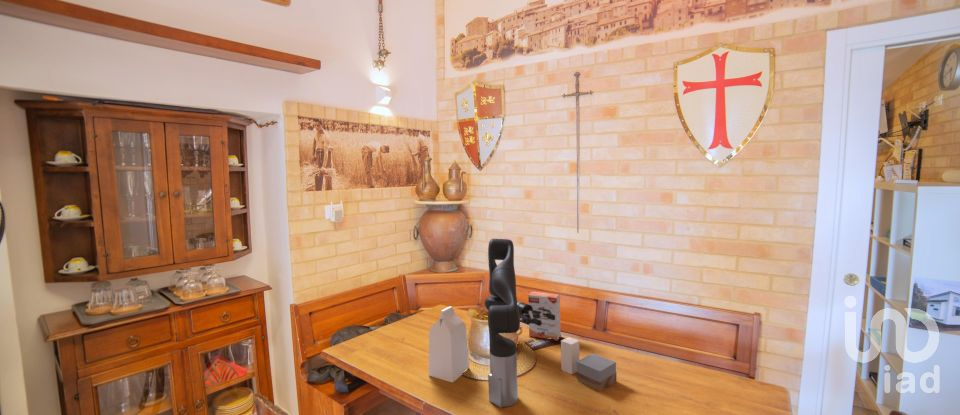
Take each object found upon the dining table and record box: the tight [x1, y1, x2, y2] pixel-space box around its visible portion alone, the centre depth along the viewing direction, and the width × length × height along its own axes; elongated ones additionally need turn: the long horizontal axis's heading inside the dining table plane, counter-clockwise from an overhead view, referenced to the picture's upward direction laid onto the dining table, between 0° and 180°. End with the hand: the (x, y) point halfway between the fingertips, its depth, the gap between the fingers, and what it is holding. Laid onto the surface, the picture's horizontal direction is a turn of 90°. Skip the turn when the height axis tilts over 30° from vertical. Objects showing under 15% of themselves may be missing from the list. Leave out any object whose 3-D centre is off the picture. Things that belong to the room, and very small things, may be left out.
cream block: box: [560, 336, 580, 375], centre depth 154 cm, size 5×5×12 cm
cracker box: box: [528, 291, 561, 342], centre depth 186 cm, size 14×6×21 cm, turn 62°
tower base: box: [577, 372, 617, 393], centre depth 145 cm, size 10×10×4 cm
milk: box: [428, 305, 470, 384], centre depth 155 cm, size 12×12×26 cm
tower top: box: [576, 353, 617, 382], centre depth 145 cm, size 10×10×4 cm
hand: (547, 320), depth 162 cm, fingers open, 8 cm apart
